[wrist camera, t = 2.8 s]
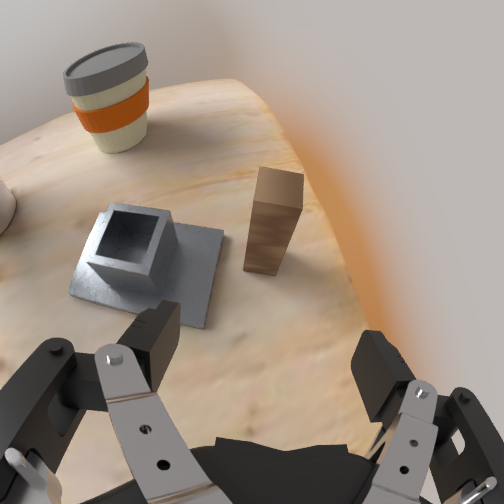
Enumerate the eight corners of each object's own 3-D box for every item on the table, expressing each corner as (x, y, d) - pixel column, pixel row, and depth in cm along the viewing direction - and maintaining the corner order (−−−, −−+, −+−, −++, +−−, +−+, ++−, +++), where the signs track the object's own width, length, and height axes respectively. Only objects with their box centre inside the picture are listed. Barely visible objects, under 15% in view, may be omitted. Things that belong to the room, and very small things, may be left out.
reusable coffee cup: (144, 160, 36) (124, 70, 23) (76, 162, 36) (44, 87, 22) (166, 113, 42) (158, 37, 29) (105, 116, 42) (88, 49, 28)
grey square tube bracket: (71, 295, 26) (42, 272, 20) (103, 216, 31) (84, 183, 26) (203, 329, 26) (197, 311, 21) (223, 234, 32) (223, 199, 26)
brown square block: (243, 270, 30) (253, 200, 19) (247, 242, 31) (259, 166, 21) (275, 275, 30) (302, 209, 19) (278, 247, 31) (303, 174, 21)
